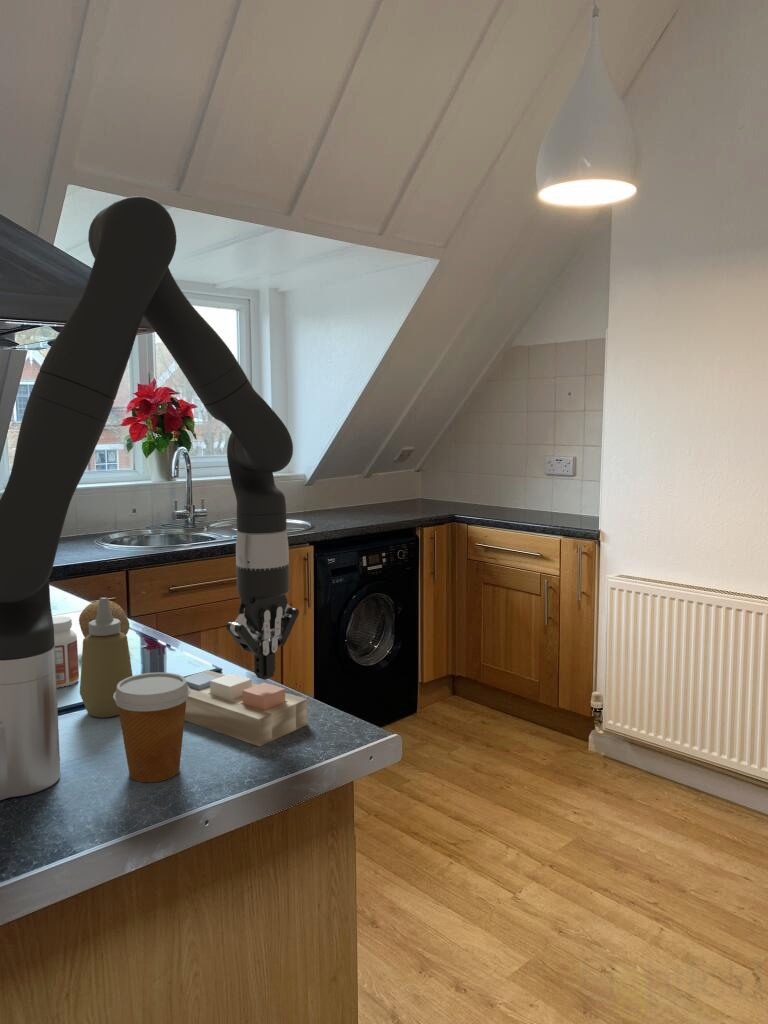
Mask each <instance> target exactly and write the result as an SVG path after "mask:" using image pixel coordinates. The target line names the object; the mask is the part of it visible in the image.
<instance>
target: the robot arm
mask: <svg viewBox="0 0 768 1024" xmlns="http://www.w3.org/2000/svg"><path fill="white" fill-rule="evenodd" d="M175 226H176V225H175V223H174V221H173V219H172V216H171V214H170V213H169V211H168V210H167V209H166V208H165V207H164V206H163V205H162V204H161V203H160V202H159V201H157V200H155V199H153V198H150V197H147V196H135V195H134V196H128V197H124V198H121V199H119V200H117V201H114V202H113V203H111V204H110V205H108V206H106V207H105V208H103V209H101V210H100V211H99V212H98V213H97V214H96V215H95V217H94V218H93V219H92V221H91V223H90V225H89V229H88V237H87V238H88V246H89V249H90V252H91V255H92V257H93V258H94V262H93V263H92V268H91V271H90V274H89V278H88V280H87V283H86V285H85V289H84V291H83V293H82V295H81V297H80V299H79V301H78V302H77V305H76V306H75V308H74V310H73V311H72V313H71V314H70V316H69V317H68V319H67V320H66V321H65V323H64V325H63V326H62V328H61V329H60V331H59V333H58V335H57V336H56V338H55V339H54V341H53V343H52V344H51V346H50V348H49V350H48V351H47V353H46V354H45V358H44V359H43V361H42V363H41V365H40V368H39V372H38V373H37V376H36V379H35V381H34V383H33V387H32V388H31V391H30V395H29V396H28V399H27V402H26V405H25V409H24V412H23V415H22V419H21V423H20V427H19V432H18V435H17V439H16V440H17V441H16V447H15V450H14V456H13V463H12V466H11V470H10V471H11V472H10V474H9V477H8V481H7V484H5V485H6V486H5V488H4V490H3V492H2V495H1V497H0V801H2V800H5V799H8V798H15V797H23V796H28V795H31V794H35V793H39V792H41V791H43V790H46V789H48V788H49V787H52V786H53V785H55V784H56V783H57V782H58V781H59V779H61V755H60V753H61V752H60V733H59V732H60V731H59V715H58V714H59V712H58V710H59V709H58V690H57V689H58V688H57V686H56V663H55V643H54V625H53V619H52V617H53V614H52V604H51V591H50V576H51V575H52V571H53V567H54V565H55V559H56V556H57V555H56V554H57V552H58V547H59V543H60V539H61V536H62V531H63V528H64V525H65V520H66V516H67V514H68V511H69V508H70V504H71V502H72V499H73V497H74V494H75V492H76V490H77V487H78V486H79V483H80V482H81V479H82V477H83V476H84V473H85V472H86V470H87V467H88V465H89V463H90V461H91V459H92V457H93V454H94V453H95V451H96V450H95V449H96V447H97V446H98V445H97V444H98V442H99V440H100V438H101V436H102V434H103V431H104V429H105V427H106V424H107V422H108V419H109V417H110V413H111V411H112V408H113V406H114V403H115V400H116V397H117V395H118V391H119V389H120V386H121V383H122V380H123V377H124V375H125V371H126V369H127V366H128V362H129V359H130V357H131V354H132V351H133V348H134V344H135V341H136V337H137V334H138V331H139V328H140V325H141V323H142V320H143V318H144V319H145V320H146V321H147V323H148V325H150V327H151V328H152V329H153V331H154V332H155V333H156V335H157V336H158V338H159V339H160V341H161V342H162V343H163V344H164V346H165V348H166V350H167V351H168V352H169V354H170V355H171V356H172V357H173V360H174V361H175V363H176V364H177V366H178V367H179V369H180V370H181V373H182V374H183V376H184V377H185V379H187V381H188V383H189V385H190V386H191V388H192V389H193V391H194V393H195V395H197V397H198V399H199V400H200V401H201V403H202V405H203V407H204V408H205V409H206V411H207V412H208V413H209V415H211V417H213V419H215V420H217V421H219V422H221V423H222V424H224V425H225V426H226V427H227V428H228V429H229V431H230V434H229V437H228V441H227V445H226V447H227V448H226V458H227V459H226V460H227V464H228V466H227V467H228V470H229V475H230V480H231V484H232V488H233V491H234V494H235V498H236V539H235V540H236V541H235V542H236V543H235V565H236V566H235V567H236V568H235V569H236V570H235V571H236V592H237V594H238V596H239V598H240V602H239V606H238V616H237V617H236V619H235V620H234V621H233V622H232V621H229V622H227V623H226V630H227V632H228V633H229V634H230V635H231V636H232V638H233V640H234V641H235V642H236V643H237V645H238V646H239V647H240V648H241V649H242V650H243V652H247V653H250V654H253V657H254V658H253V660H254V662H253V663H254V664H253V665H254V668H253V669H254V674H255V676H256V677H257V678H258V679H260V680H264V681H265V680H269V679H271V678H273V677H275V671H276V652H277V650H278V648H279V647H280V646H285V644H286V643H287V641H288V638H289V636H290V634H291V632H292V629H293V627H294V625H295V623H296V621H297V618H298V616H299V614H300V610H299V608H294V607H292V606H291V605H289V604H288V598H287V594H288V593H289V591H290V560H289V559H290V558H289V557H290V556H289V555H290V554H289V551H290V550H289V547H290V546H289V539H288V533H287V532H288V531H287V505H286V504H287V502H286V497H285V495H284V493H283V491H281V490H280V489H279V488H278V487H277V486H276V484H275V477H274V473H277V472H280V471H282V470H284V469H286V467H287V466H288V465H289V464H290V462H291V461H292V457H293V455H294V444H293V439H292V437H291V434H290V432H289V430H288V428H287V426H286V425H285V423H284V422H283V421H282V419H281V418H280V417H279V416H278V414H277V413H276V412H275V410H274V409H272V407H271V406H270V405H269V404H268V403H267V402H266V401H265V400H264V399H263V397H261V395H260V394H259V393H258V392H257V391H256V390H255V388H254V387H253V384H252V383H251V382H250V379H249V378H248V377H247V375H246V373H245V372H244V370H243V368H242V367H241V365H240V363H239V361H238V360H237V358H236V357H235V355H234V354H233V353H232V351H231V349H230V347H229V346H228V345H227V343H225V341H224V340H223V339H222V338H221V336H220V335H219V334H218V332H217V331H216V330H215V329H214V328H213V327H212V326H211V325H210V323H208V321H207V320H206V319H205V318H204V317H203V316H202V315H201V314H200V313H199V312H198V311H197V309H196V308H195V307H194V306H193V305H192V304H191V302H190V301H189V299H188V298H187V296H185V294H184V292H183V291H182V290H181V288H180V286H179V285H178V283H177V281H176V280H175V278H174V276H173V274H172V273H171V270H170V267H169V266H170V264H171V262H172V259H173V258H174V255H175V252H176V248H177V247H176V246H177V231H176V227H175Z"/></svg>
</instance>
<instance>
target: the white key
mask: <svg viewBox="0 0 768 1024" xmlns="http://www.w3.org/2000/svg"><path fill="white" fill-rule="evenodd" d="M224 675H225V676H222V677H219V678H217V679H214V680H211V681H210V694H211V695H214V696H217V697H220V698H223V699H226V700H229V701H231V700H234V699H236V698H239V697H242V696H243V695H242V690H245V689H248V688H250V687H252V683H253V679H252V678H251V677H250V678H249V677H245V676H244V675H240V674H235V673H229V674H224Z"/></svg>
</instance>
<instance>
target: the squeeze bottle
mask: <svg viewBox="0 0 768 1024" xmlns="http://www.w3.org/2000/svg"><path fill="white" fill-rule="evenodd" d="M108 600H109V599H108V597H99V600H98V601H99V605H98V611H97V616H96V620H93V621H91V622H89V635H88V636H86V637H84V638H83V639H82V652H81V663H80V665H81V667H80V678H79V679H80V680H79V681H80V683H79V695H80V699H81V700H82V702H83V704H84V707H85V710H86V712H87V714H88V715H89V716H91V717H94V718H111V717H117V716H119V711H118V706H117V705H116V702H115V700H114V699H113V695H114V693H115V692H116V688H117V684H118V683H119V682H120V681H122V680H124V679H126V678H128V677H131V676H134V674H133V668H132V661H131V655H130V654H131V653H130V648H129V639H128V636H127V635H125V634H123V633H122V632H120V631H121V626H120V620H119V619H115V618H113V616H112V612H111V609H110V605H109V601H110V600H109V601H108Z"/></svg>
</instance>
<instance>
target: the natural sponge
mask: <svg viewBox="0 0 768 1024" xmlns="http://www.w3.org/2000/svg"><path fill="white" fill-rule="evenodd" d="M108 601H109V605H110V609H111V612H112V616H113V618H115V619H119V620H120V626H121V631H120V632H122V633H123V634H125V635H126V636H127V634H128V633H129V630H130V621H129V618H128V617H127V615H126V612H125V611H124V609H123V607H121V606H120V605H119V604H118V603H116V602H115V601H111V600H109V599H108ZM98 605H99V600H97V601H94V602H92V603H89V604H88V605H86V606H85V608H84V609H83V610H82V611H81V612H80V614H79V617H78V622H79V623H78V624H79V627H80V630H81V634H82V635H83V637H84V638H85V637H86V636H88V635H89V622H91V621H93V620H96V616H97V611H98Z"/></svg>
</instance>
